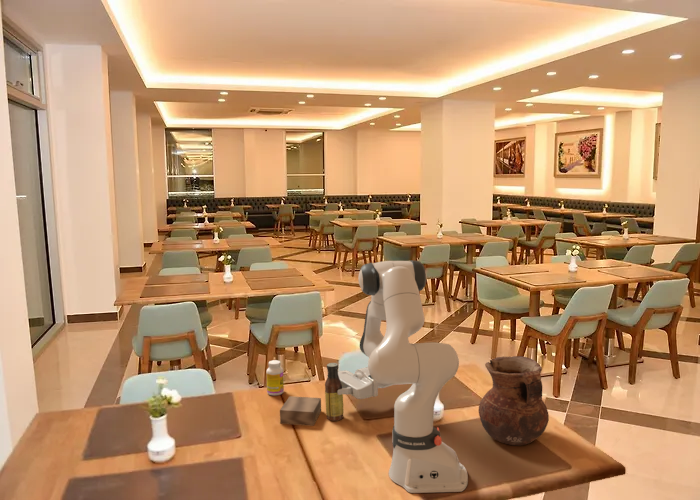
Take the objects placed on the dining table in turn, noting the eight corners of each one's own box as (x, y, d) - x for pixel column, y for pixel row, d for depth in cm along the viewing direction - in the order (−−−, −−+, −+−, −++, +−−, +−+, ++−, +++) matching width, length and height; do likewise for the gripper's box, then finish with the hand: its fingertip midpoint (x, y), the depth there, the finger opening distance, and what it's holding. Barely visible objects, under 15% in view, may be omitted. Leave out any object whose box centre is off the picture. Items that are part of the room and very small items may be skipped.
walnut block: (321, 410, 199) (320, 398, 199) (313, 425, 188) (313, 412, 187) (289, 409, 201) (289, 396, 201) (280, 423, 190) (279, 410, 189)
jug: (466, 436, 178) (467, 364, 175) (496, 415, 193) (498, 348, 190) (530, 460, 163) (533, 381, 160) (558, 435, 178) (561, 362, 175)
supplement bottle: (282, 396, 213) (281, 364, 212) (265, 396, 213) (264, 365, 212) (284, 389, 220) (283, 359, 218) (268, 389, 220) (267, 359, 218)
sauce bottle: (346, 416, 194) (346, 363, 191) (337, 423, 189) (336, 369, 186) (331, 412, 198) (331, 360, 195) (322, 418, 192) (321, 365, 190)
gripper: (349, 364, 207) (317, 371, 200) (379, 380, 190) (346, 389, 182) (349, 379, 208) (317, 387, 201) (380, 397, 191) (346, 407, 183)
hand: (331, 388), depth 191 cm, fingers closed on sauce bottle, 6 cm apart
